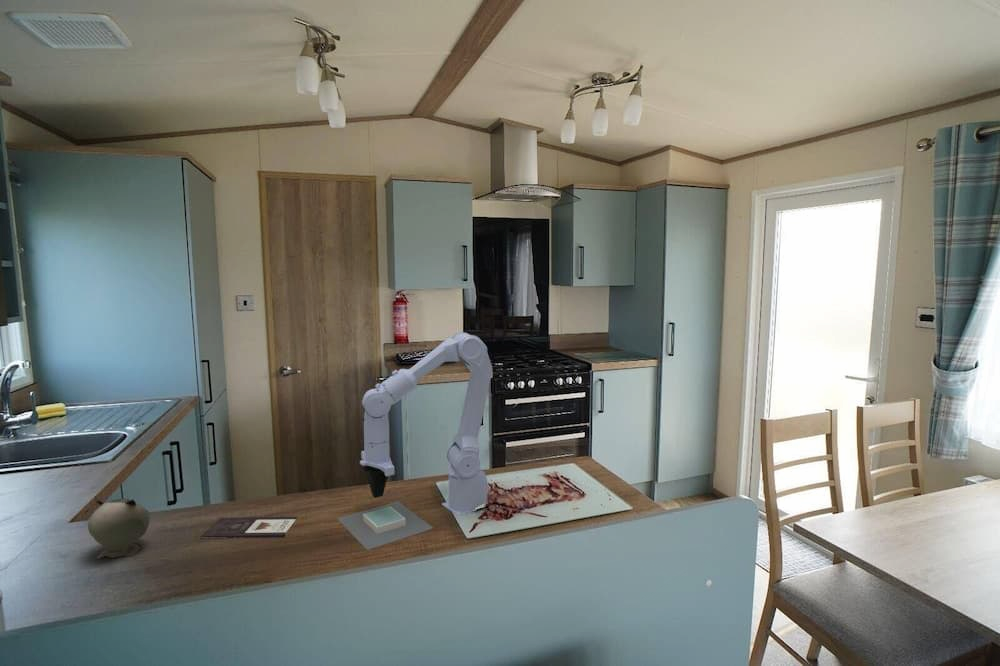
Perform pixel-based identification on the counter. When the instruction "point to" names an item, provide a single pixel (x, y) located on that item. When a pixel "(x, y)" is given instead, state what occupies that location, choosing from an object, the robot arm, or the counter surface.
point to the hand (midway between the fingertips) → (377, 495)
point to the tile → (384, 520)
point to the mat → (374, 540)
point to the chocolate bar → (250, 527)
